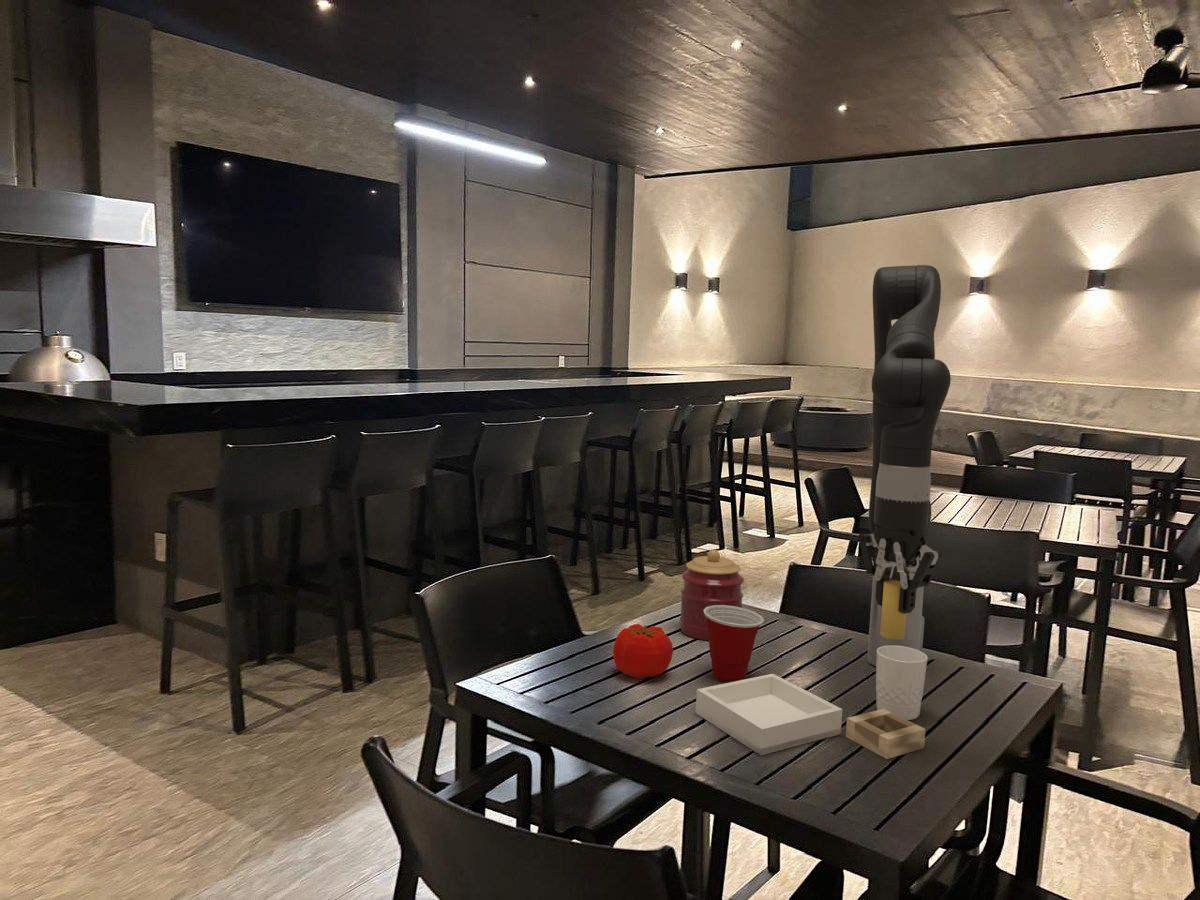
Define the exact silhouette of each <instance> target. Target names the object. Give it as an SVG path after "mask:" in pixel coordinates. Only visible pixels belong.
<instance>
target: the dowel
mask: <svg viewBox="0 0 1200 900" xmlns="http://www.w3.org/2000/svg"><path fill="white" fill-rule="evenodd" d="M900 588H902V587H901V581H896V580H887V581H884V586H883V600H882V614H881V628H880V635H881V636H883V637H885V638H889V639H904V638H905V628H906V614H907V613H906V614H903V613H900V612H899V597H900Z"/></svg>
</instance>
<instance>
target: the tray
mask: <svg viewBox="0 0 1200 900" xmlns="http://www.w3.org/2000/svg"><path fill="white" fill-rule="evenodd" d="M695 699H696V701H695V704H696V705H695V714H697V715H698V716H699V717H700V718H702V719H704V720H705V721H707V722H708V723H710V724H711V725H713V726H715V727H716V728H718V729H719V730H721V731H723V733H726V734H727V735H729V736H730V737H731V738H733V739H735V740H736V741H738V742H739V743H741V744H743V745H744V746H745V747H747V748H749V749H750V750H752V751H753V752H755V753H757V755H759V756H764V755H767V754H772V753H776V752H779V751H782V750H786V749H790V748H794V747H797V746H801V745H804V744H809V743H812V742H816V741H820V740H824V739H828V738H831V737H834V736H835V737H836V736H838V735H839V736H840V735H841V734H842V721H843V708H841V707H839V706H837V705H835V704H833V703H831V702H829V701H827V700H825V699H824V698H822V697H819V696H817V695H815V694H814V693H811V692H809V691H808V690H806V689H804V688H801V687H800V686H799V685H796V684H794V683H792V682H790V681H788V680H786V679H784V678H782V677H781V676H778V675H777V674H775V673H770V674H765V675H761V676H755V677H750V678H745V679H744V680H740V681H735V682H725V683H721V684H715V685H711V686H707V687H706V686H705V687H702V688H697V689H696V698H695Z"/></svg>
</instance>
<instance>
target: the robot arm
mask: <svg viewBox="0 0 1200 900" xmlns="http://www.w3.org/2000/svg"><path fill="white" fill-rule="evenodd" d="M941 284H942V283H941V277H940V273H939V271H938V269H937V268H936V267H935V266H933V265H928V264H917V265H914V264H913V265H895V266H883V267H879V268H878V269H876V271H875V273H874V277H873V282H872V315H873V319H872V320H873V340H874V341H873V343H874V345H873V346H874V366H873V367H874V369H873V370H874V371H873V375H872V379H871V391H872V418H871V419H872V420H871V421H872V469H871V480H870V481H871V483H870V492H869V493H870V494H869V503H868V504H869V505H868V528H869V532H870V533H868V534H862V535H859V537H858V542H859V545H860V550H861V555H862V559H863V564H864V570H865V572H866V573H867V574H868V575H872V584H871V585H872V586H871V600H870V615H869V616H870V617H869V628H868V631H869V632H868V644H867V657H866V658H867V659H866V660H867V662H868V663H869V664H870V665H872V666H874V667H876V660H877V649H878V648H879V647H882V646H890V645H893V646H904V647H909V648H913V649H916V650H919V651H921V652H923V644H924V632H925V630H924V629H925V616H924V615H923V603H924V588H925V587H929V586H930V584H931V581H932V579H933V577H934V575H935V573H936V571H937V568H938V566H939V564H940V561H941V559H943V554H942V552H941V551H940V550H933V549H932V548H931V547H929V546H928V542H929V534H930V527H931V521H932V503H931V499H930V497H931V488H932V487H931V486H932V485H931V484H932V479H931V475H932V474H931V462H932V461H931V460H932V450H933V449H932V446H933V440H934V439H933V438H934V432H935V429H936V424H937V421H938V419H939V416H940V413H941V410H942V408H943V406H944V402H945V400H946V398H947V396H948V393H949V390H950V386H951V380H952V379H951V378H952V377H951V372H950V370H949V368H948V366H947V364H946V363H944V362H943V360H940V359H936V352H935V351H936V350H935V349H936V348H935V331H936V328H937V327H936V326H937V324H938V323H937V322H938V317H939V311H940V306H941V295H942V294H941V293H942V292H941V291H942V285H941ZM894 320H896V321H895V322H894V323H893V324H892V321H894ZM887 580H896V581H901V587H902V588H900V597H899V612H900V613H903V614H906V613H907V614H906V628H905V638H904V639H889V638H885V637H883V636H881V635H880V628H881V614H882V600H883V586H884V581H887Z"/></svg>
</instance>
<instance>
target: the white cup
mask: <svg viewBox="0 0 1200 900" xmlns="http://www.w3.org/2000/svg"><path fill="white" fill-rule="evenodd" d="M928 659H929V658H928V655H927V654H926V653H925V652H923V651H922V652H921V651H919V650H916V649H913V648H909V647H904V646H893V645H890V646H882V647H879V648H878V649H877V660H876V666H875V667H876V668H875V693H876V699H875V700H876V706H875V707H876V710H880V709H885V710H887V711H889V712H891V713H893V714H896V715H898V716H900V717H902V718H904V719H906V720H908V721H909V720H910V721H911V720H912V721H913V720H915V719H917V718H918V717H919V716H920V714H921V706H922V699H923V696H924V695H923V694H924V688H925V682H926V673H927V665H928Z"/></svg>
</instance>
